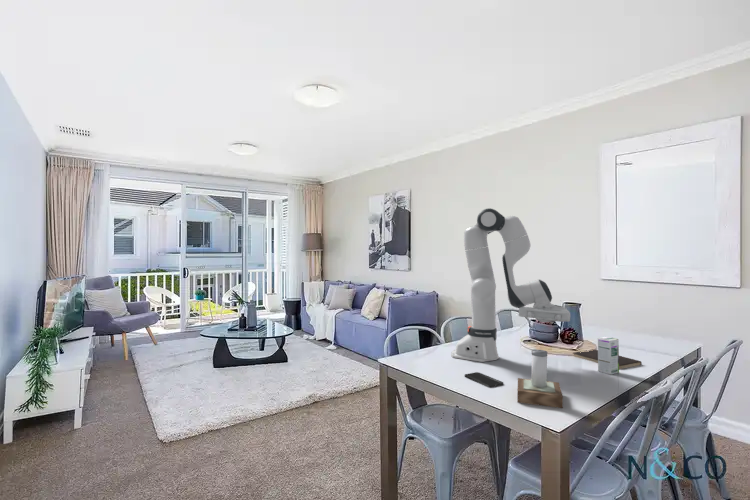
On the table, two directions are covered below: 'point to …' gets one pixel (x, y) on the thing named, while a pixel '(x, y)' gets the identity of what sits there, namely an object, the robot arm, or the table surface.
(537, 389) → the walnut base
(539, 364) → the canister
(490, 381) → the phone
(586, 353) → the hardcover book
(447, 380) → the table surface
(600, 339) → the syrup box
